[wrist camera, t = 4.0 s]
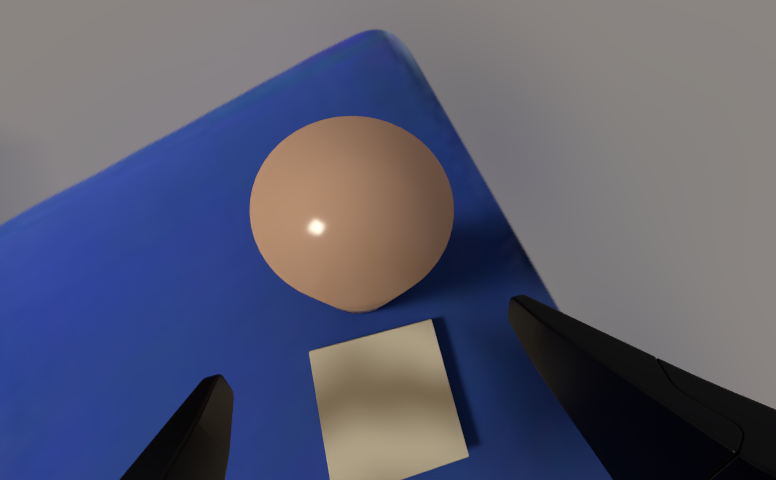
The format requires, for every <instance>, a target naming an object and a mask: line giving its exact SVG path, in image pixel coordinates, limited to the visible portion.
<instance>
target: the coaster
mask: <svg viewBox="0 0 776 480" xmlns="http://www.w3.org/2000/svg"><path fill="white" fill-rule="evenodd" d="M309 356H310V362H311V368H312V374H313V380H314V386H315V392H316V398H317V404H318V410H319V416H320V422H321V428H322V434H323V440H324V446H325V452H326V458H327V464H328V470H329V476H330V480H402V479H404V478H407V477H410V476H413V475H416V474H419V473H422V472H425V471H428V470H431V469H434V468H437V467H440V466H443V465H445V464H448V463H451V462H454V461H457V460H460V459H463V458H466V457H469V455H468V451H467V447H466V444H465V440H464V436H463V433H462V429H461V425H460V422H459V418H458V414H457V411H456V407H455V404H454V400H453V396H452V393H451V389H450V385H449V382H448V378H447V374H446V371H445V367H444V363H443V360H442V356H441V352H440V349H439V345H438V341H437V338H436V334H435V331H434V327H433V323H432V320H431V319H428V320H425V321H421V322H417V323H413V324H409V325H406V326H402V327H398V328H394V329H390V330H387V331H383V332H379V333H375V334H371V335H368V336H364V337H360V338H356V339H352V340H349V341H345V342H341V343H337V344H333V345H330V346H326V347H322V348H318V349H314V350H311V351H309Z"/></svg>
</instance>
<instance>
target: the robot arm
mask: <svg viewBox="0 0 776 480" xmlns="http://www.w3.org/2000/svg"><path fill="white" fill-rule="evenodd" d="M508 319H509V322H510V324H511V326H512V327H513V329H514V331H515V333H516V335H517V336H518V338H519V340H520V342H521V344H522V345H523V347H524V349H525V351H526V353H527V354H528V356H529V358H530V360H531V361H532V363H533V365H534V366H535V368H536V369H537V371H538V372H539V374H540V375H541V377H542V378H543V379H544V381H545V382H546V384H547V385H548V387H549V388H550V389H551V391H552V392H553V394H554V395H555V397H556V398H557V400H558V401H559V402H560V404H561V405H562V407H563V408H564V410H565V411H566V413H567V414H568V415H569V417H570V418H571V420H572V421H573V423H574V424H575V425H576V427H577V428H578V430H579V431H580V433H581V434H582V436H583V437H584V438H585V440H586V441H587V443H588V444H589V446H590V447H591V448H592V450H593V451H594V453H595V454H596V456H597V457H598V459H599V460H600V461H601V463H602V464H603V466H604V467H605V469H606V470H607V472H608V473H609V474H610V476H611V477H612V479H613V480H776V410H775V409H773V408H771V407H768V406H766V405H763V404H761V403H759V402H756V401H754V400H751V399H749V398H746V397H744V396H741V395H739V394H737V393H734V392H732V391H730V390H727V389H725V388H722V387H720V386H718V385H716V384H713V383H711V382H709V381H706V380H704V379H702V378H700V377H697V376H695V375H693V374H691V373H689V372H686V371H684V370H682V369H680V368H678V367H675V366H673V365H671V364H669V363H667V362H665V361H663V360H660V359H658V358H657V359H656V358H655V357H654V356H652V355H650V354H648V353H646V352H644V351H642V350H640V349H637V348H635V347H633V346H631V345H629V344H627V343H625V342H622V341H620V340H618V339H616V338H614V337H612V336H610V335H608V334H606V333H604V332H601V331H599V330H597V329H595V328H593V327H591V326H589V325H587V324H585V323H582V322H581V321H578V320H576V319H574V318H572V317H570V316H568V315H566V314H564V313H562V312H559V311H557V310H555V309H553V308H551V307H549V306H547V305H545V304H543V303H541V302H538V301H536V300H534V299H532V298H530V297H528V296H526V295H518V296H515V297H512V298H511V299H510V303H509V310H508ZM233 400H234V396H233V391H232V389H231V387H230V386H229V385H228V383H227V382H226V380H225V379H224V377H223V376H222V375H220V374H217V375H213V376H209V377H206V378H204V379H203V380H202V381H201V382H200V383H199V384H198V386H197V387H196V388H195V389H194V390H193V392H192V393H191V394H190V395H189V397H188V398H187V399H186V400H185V401H184V403H183V404H182V405H181V406H180V407H179V409H178V410H177V411H176V412H175V413H174V415H173V416H172V417H171V418H170V419H169V421H168V422H167V423H166V424H165V425H164V427H163V428H162V429H161V430H160V432H159V433H158V434H157V435H156V436H155V438H154V439H153V440H152V441H151V442H150V444H149V445H148V446H147V447H146V448H145V450H144V451H143V452H142V453H141V454H140V456H139V457H138V458H137V459H136V460H135V462H134V463H133V464H132V465H131V467H130V468H129V469H128V470H127V471H126V473H125V474H124V475H123V476H122V477H121V479H120V480H225V475H226V470H227V464H228V458H229V449H230V437H231V425H232V412H233Z"/></svg>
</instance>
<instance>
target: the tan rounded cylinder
mask: <svg viewBox="0 0 776 480" xmlns="http://www.w3.org/2000/svg"><path fill="white" fill-rule="evenodd" d="M453 218H454V202H453V196H452V191H451V187H450V184H449V181H448V178H447V176H446V174H445V172H444V169H443V168H442V166H441V164H440V163H439V161H438V159H437V158H436V157H435V156H434V154H433V153H432V152H431V151H430V150H429V149H428V148H427V147H426V146H425V145H424V144H423V143H422V142H421V141H420V140H419V139H417V138H416V137H415V136H413V135H412V134H410V133H409V132H407V131H405V130H404V129H402V128H400V127H398V126H396V125H393V124H391V123H388V122H385V121H382V120H379V119H374V118H369V117H360V116H342V117H335V118H329V119H325V120H321V121H318V122H315V123H312V124H310V125H307V126H305V127H303V128H301V129H299V130H297V131H296V132H294V133H293V134H291V135H290V136H288V137H287V138H286V139H284V140H283V141H282V142H281V143H280V144H279V145H278V146H277V147H276V148H275V149H274V150H273V151H272V152H271V153H270V154H269V156H268V157H267V159H266V160H265V162H264V163H263V165H262V166H261V168H260V170H259V172H258V174H257V176H256V179H255V182H254V185H253V189H252V194H251V199H250V220H251V227H252V231H253V235H254V239H255V241H256V243H257V246H258V248H259V250H260V252H261V254H262V255H263V257H264V259H265V260H266V262H267V263H268V265H269V266H270V267H271V268H272V269H273V271H274V272H275V273H276V274H277V275H278V276H279V277H280V278H282V279H283V280H284V281H285V282H286V283H287V284H289V285H290V286H292V287H293V288H295V289H296V290H298V291H300V292H302V293H304V294H306V295H308V296H310V297H312V298H315V299H317V300H319V301H322V302H324V303H326V304H329V305H331V306H333V307H336V308H338V309H341V310H343V311H345V312H348V313H353V314H365V313H369V312H372V311H374V310H376V309H378V308H380V307H381V306H383V305H385V304H386V303H388V302H389V301H391V300H392V299H394V298H396V297H397V296H399V295H400V294H402V293H403V292H405V291H407V290H408V289H410V288H411V287H412V286H414V285H415V284H417V283H418V282H419V281H421V280H422V279H423V278H424V277H425V276H426V275H427V274H428V273H429V272H430V271H431V270H432V268H433V267H434V266H435V265H436V263H437V262H438V261H439V259H440V257H441V256H442V254H443V252H444V250H445V248H446V246H447V243H448V241H449V238H450V234H451V230H452V226H453Z"/></svg>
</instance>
